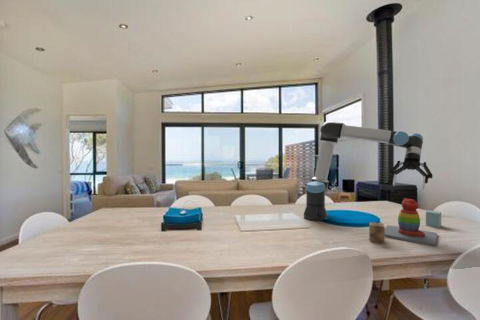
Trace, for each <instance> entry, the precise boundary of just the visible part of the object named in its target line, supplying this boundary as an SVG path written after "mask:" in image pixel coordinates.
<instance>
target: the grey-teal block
mask: <svg viewBox="0 0 480 320" xmlns="http://www.w3.org/2000/svg"><path fill="white" fill-rule="evenodd" d="M425 226H427V227H433V228H434V227H435V228H440V227H442V211H436V210H427V211H425Z"/></svg>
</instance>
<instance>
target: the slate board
mask: <svg viewBox="0 0 480 320" xmlns="http://www.w3.org/2000/svg"><path fill="white" fill-rule="evenodd" d="M398 230H399V226H398V225H389V224H387V225H386V226H385V238H389V239H390V238H391V239H395V240H398V241H399V240H400V241H405V242H406V241H407V242H411V243H418V244H421V245H426V246H432V247H436V246H437V236H438V233H437V232H435V231H429V230H428V231H427V230H421V229H419V231H422V232H423V233H425V236H424V237H418V236H409V235H404V234H401V233H399V232H398Z"/></svg>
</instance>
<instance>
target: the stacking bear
mask: <svg viewBox="0 0 480 320" xmlns="http://www.w3.org/2000/svg"><path fill="white" fill-rule="evenodd" d="M419 205H420V204H418V202H417V201H416V200H415V199H412V198H407V197H404V198H403V200H402V202H401V207H402V209H401V210H400V211H399V214H398V216H397V222H398V227H399V230H398V232H399V233H401V234H404V235H409V236H418V237H424V236H425V233H423V232H422V231H423V230H422V231H419V230H420V229H419V228H420V226H421V218H420V215H419V212H418V211H417V210H418V208H419Z"/></svg>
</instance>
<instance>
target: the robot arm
mask: <svg viewBox="0 0 480 320" xmlns="http://www.w3.org/2000/svg"><path fill="white" fill-rule="evenodd" d="M342 138H346V139H347V138H348V139H354V140H355V139H356V140H360V141H368V142H376V143H383V144H386V145H388V146H395V147H398V148H404V149H405V154H404V158H403V159H404V160H403V161H400V160H397V163H396V164H395V165H394V166H393V167H392V168H391V169H390V170H388V173H389V176H391V181H392V186H393V187H395V185H396V181H397V180H396V179H397V175H398V174H400V173H402V172H403V171H406V170H408V171H411V170H412V171H414V170H416V172H418V173H419V174H420V175H421V176H422V178H423V180H422V190H425V188H426V187H425V184H428V182H429V179H433V174H432V172H431V169H430V168H429V167H428V166H427V162H426V161H424V162H421V156H422V148H423V143H424V137H423V135H422V134H420V133H418V132H416V133H411V134H408V133H407V132H406V131H395V130H388V129H379V128H370V127H364V126H357V125H356V126H355V125H348V124H347V125H346V124H345V123H343V122H337V121H334V120H327V121H325V122H323V123H322V125H320V137H319V141H320V149H319V152H318V158H317V163H316V168H315V173H314V176H313V177H311V181H309V182H307V183H306V187H305V190H306V192H305V194H306V200H305V201H306V204H305V205H306V206H305V209H304V212H303V218H304V219H306V220H309V221H317V222H323V219H325V218H327V217H329V215H328V212H327V209H326V195H327V194H328V188H329V183H330V181H329V180H328V176H329V172H330V171H329V170H330V167H331V163H332V158H333V153H334V148H335V145H337V144H338V141H339V139H342ZM421 167H422V168H423V169H422V168H421Z"/></svg>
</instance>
